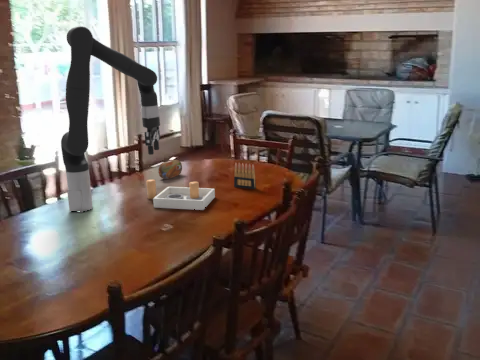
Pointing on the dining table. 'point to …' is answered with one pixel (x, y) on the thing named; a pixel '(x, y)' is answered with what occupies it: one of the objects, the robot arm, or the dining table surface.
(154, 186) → the tan rounded sausage
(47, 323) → the dining table surface
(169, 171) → the tin
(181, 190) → the housing
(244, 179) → the ammunition clip
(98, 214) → the dining table surface
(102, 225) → the dining table surface
